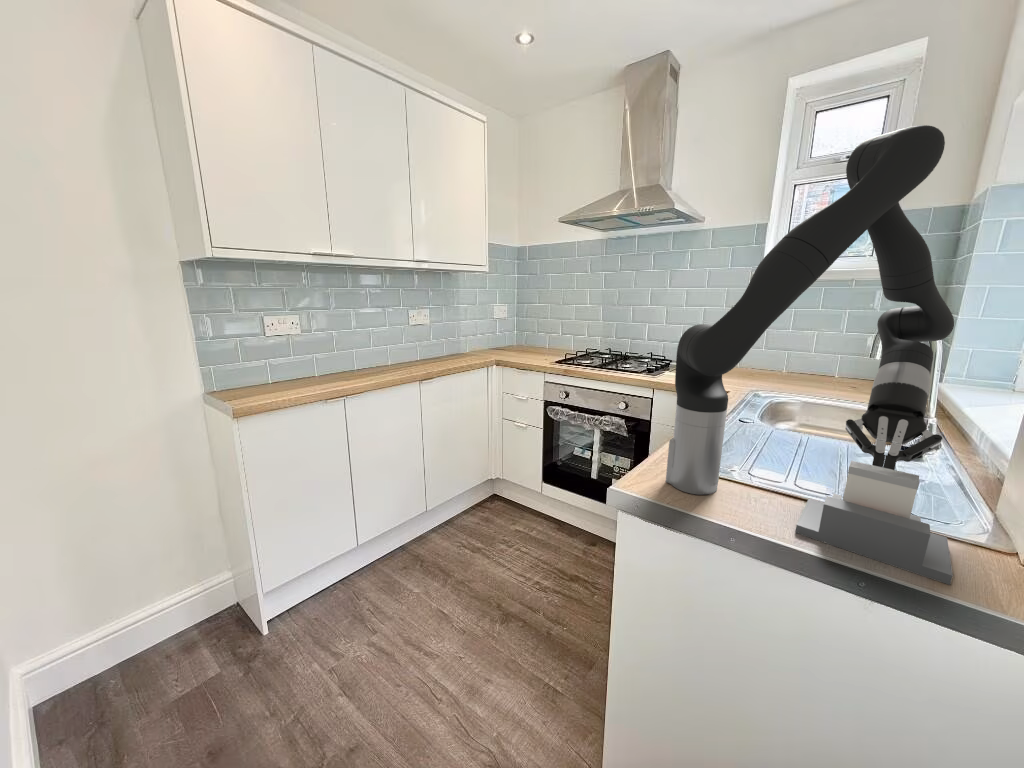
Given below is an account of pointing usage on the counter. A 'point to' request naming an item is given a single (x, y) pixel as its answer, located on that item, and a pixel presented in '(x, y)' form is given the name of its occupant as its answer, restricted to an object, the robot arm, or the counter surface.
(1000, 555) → the counter surface
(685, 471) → the robot arm
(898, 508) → the light grey upright block
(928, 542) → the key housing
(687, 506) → the counter surface
